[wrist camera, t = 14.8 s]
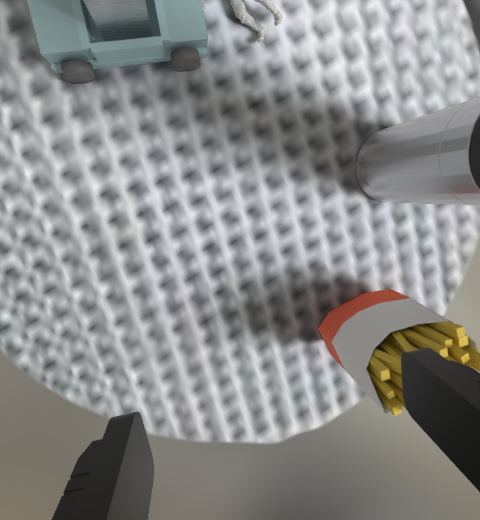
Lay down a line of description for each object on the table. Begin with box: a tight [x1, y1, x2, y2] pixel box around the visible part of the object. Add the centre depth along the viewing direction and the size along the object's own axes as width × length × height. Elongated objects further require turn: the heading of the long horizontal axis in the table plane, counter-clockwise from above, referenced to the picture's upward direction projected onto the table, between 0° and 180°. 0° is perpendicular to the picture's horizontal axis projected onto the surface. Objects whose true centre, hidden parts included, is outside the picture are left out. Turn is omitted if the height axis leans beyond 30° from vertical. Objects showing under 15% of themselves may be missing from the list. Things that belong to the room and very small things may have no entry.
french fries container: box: [318, 289, 480, 416], centre depth 37 cm, size 5×11×18 cm, turn 117°
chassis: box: [27, 0, 208, 84], centre depth 33 cm, size 16×12×4 cm
